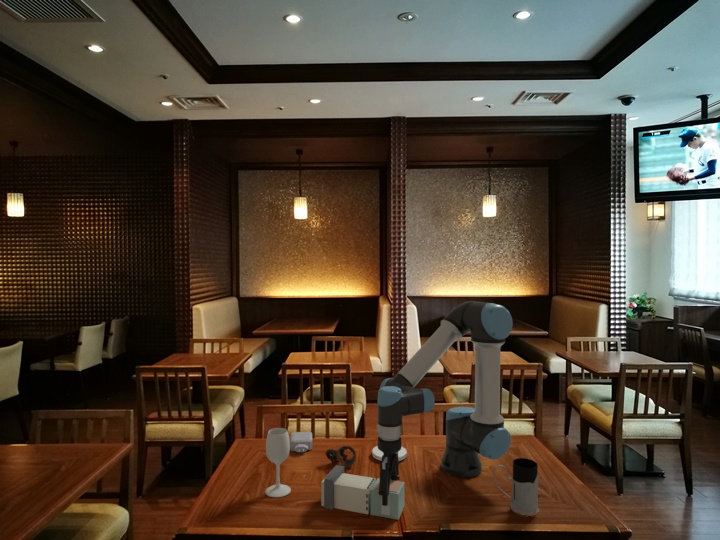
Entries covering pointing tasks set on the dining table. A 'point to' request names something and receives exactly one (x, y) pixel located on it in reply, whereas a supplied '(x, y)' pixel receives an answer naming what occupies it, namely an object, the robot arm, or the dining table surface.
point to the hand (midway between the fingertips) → (389, 506)
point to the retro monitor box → (395, 499)
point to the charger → (301, 441)
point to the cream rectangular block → (346, 491)
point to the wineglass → (277, 458)
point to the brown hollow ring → (341, 455)
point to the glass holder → (523, 486)
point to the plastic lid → (378, 454)
